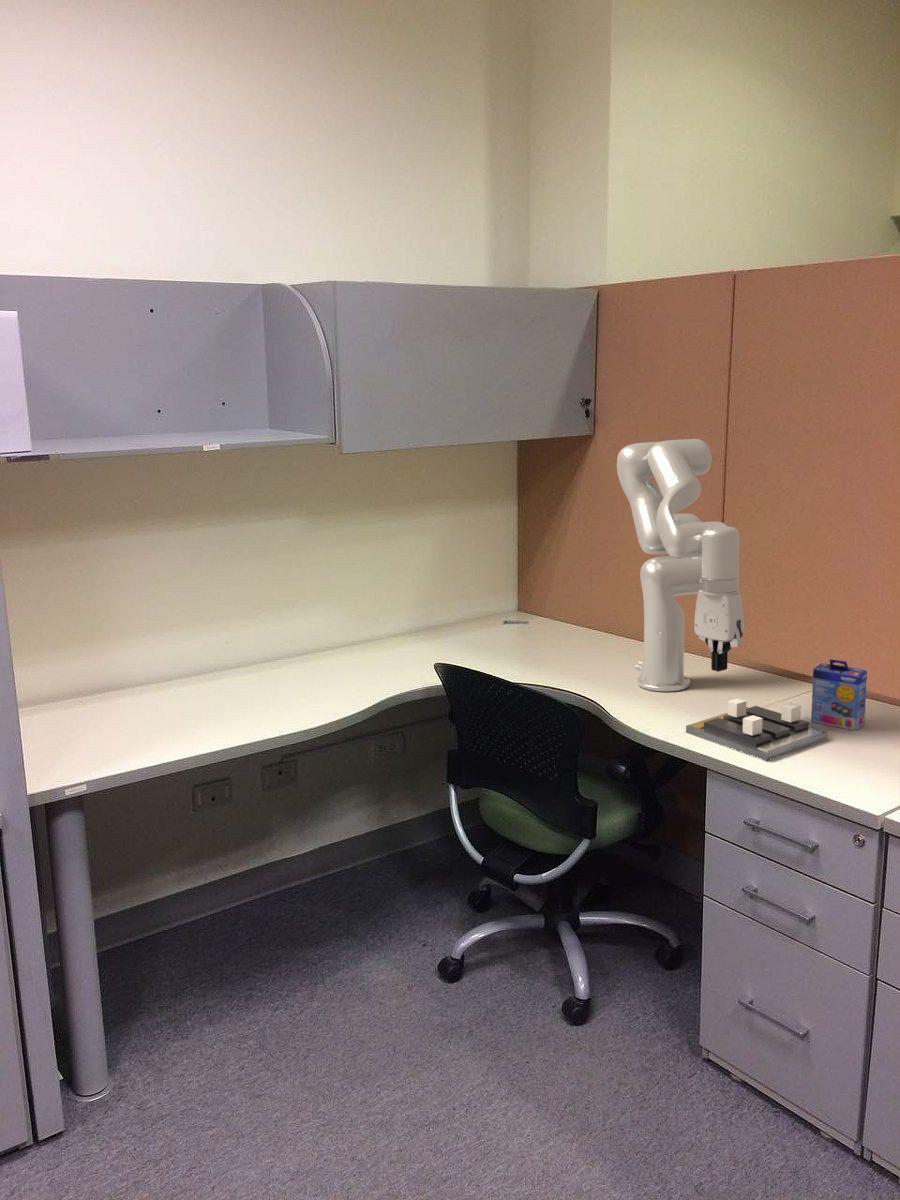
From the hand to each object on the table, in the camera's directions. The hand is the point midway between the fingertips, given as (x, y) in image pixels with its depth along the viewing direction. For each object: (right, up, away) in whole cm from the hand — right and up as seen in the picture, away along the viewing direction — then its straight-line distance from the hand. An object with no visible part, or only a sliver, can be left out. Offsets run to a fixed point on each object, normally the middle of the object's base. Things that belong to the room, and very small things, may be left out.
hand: (719, 669), depth 216 cm
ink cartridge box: (+25, -12, 0) cm, 28 cm away
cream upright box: (+3, -12, -12) cm, 17 cm away
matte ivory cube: (+3, -9, -2) cm, 10 cm away
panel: (+6, -13, -5) cm, 16 cm away
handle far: (+13, -10, -6) cm, 18 cm away
